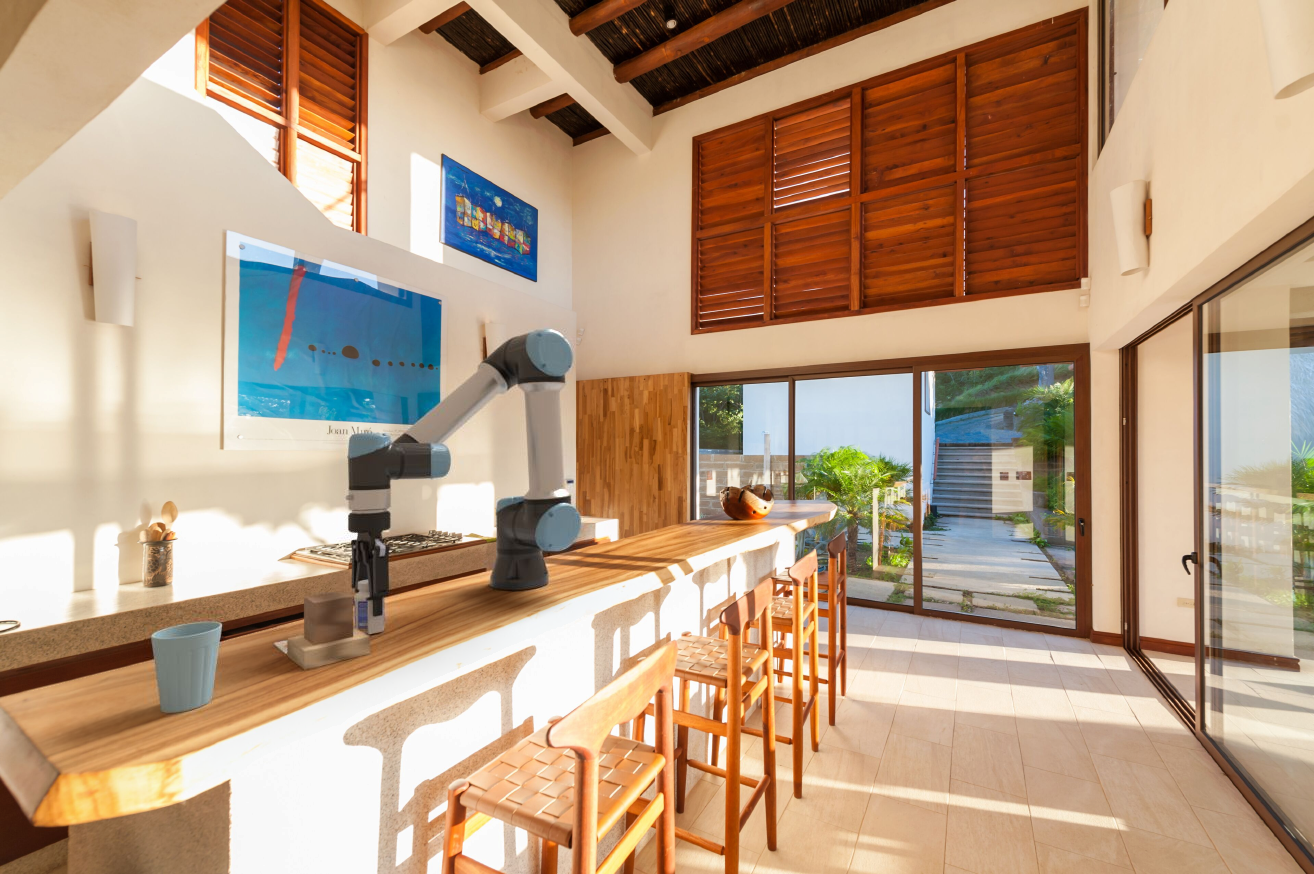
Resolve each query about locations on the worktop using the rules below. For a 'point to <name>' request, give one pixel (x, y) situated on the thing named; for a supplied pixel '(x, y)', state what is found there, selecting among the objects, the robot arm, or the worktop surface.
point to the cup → (186, 664)
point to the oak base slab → (327, 650)
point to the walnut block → (328, 617)
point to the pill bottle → (362, 607)
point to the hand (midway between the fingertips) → (369, 628)
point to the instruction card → (282, 646)
